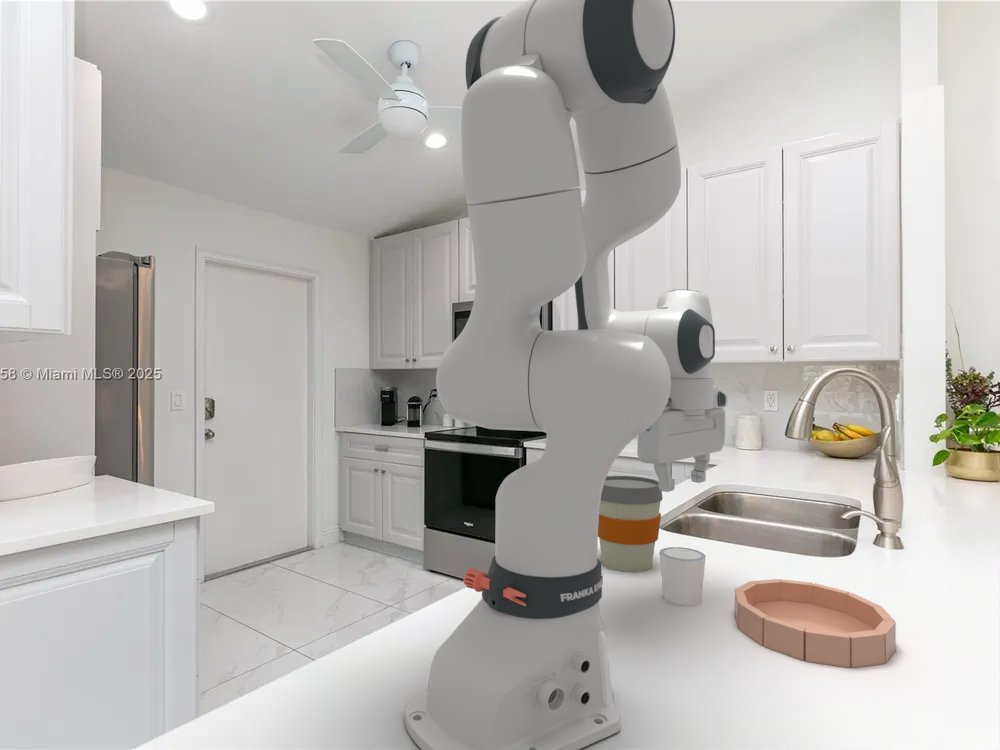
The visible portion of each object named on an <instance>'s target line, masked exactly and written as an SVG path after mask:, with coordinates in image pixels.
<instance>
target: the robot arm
mask: <svg viewBox="0 0 1000 750" xmlns="http://www.w3.org/2000/svg"><path fill="white" fill-rule="evenodd" d="M675 42H676V23H675V15H674V9H673V5H672V2H671V0H526V1H525V2H522V3H521V4H520V5H518V6H516V7H514V8H513V9H512V10H510V11H509V12H506V13H505V14H500V15H497V16H495V17H493V18H492V19H491V20H490V21H488V22H487V23H486V24H485V25H484V26H482V27H481V28H480V30H478V31H477V32H476V34H475V35H474V36H473V38H472V39H471V40H470V43H469V46H468V49H467V52H466V59H465V60H466V61H465V82H466V89H467V91H466V93H465V95H464V97H463V101H462V105H461V129H460V130H461V131H460V132H461V136H460V137H461V160H462V161H461V162H462V163H461V164H462V175H463V184H464V192H465V200H466V204H468V205H467V212H468V213H467V214H468V219H469V225H470V232H471V241H472V251H473V256H474V257H473V258H474V269H475V270H474V271H475V272H474V273H475V291H474V298H473V304H472V309H471V311H470V315H469V317H468V319H467V321H466V324H465V326H464V328H463V329H462V331H461V332H460V333H459V335H458V336H457V337H456V338H455V339H454V341H452V342H451V343H450V344H449V345H447V348H446V349H445V350H444V352H443V353H442V356H441V357H440V360H439V362H438V365H437V370H436V376H435V385H436V386H435V387H436V391H437V397H438V400H439V402H440V404H441V405H442V407H443V409H444V410H445V412H446V414H447V415H448V416H449V417H451V419H454V420H456V421H459V422H462V423H466V424H469V425H472V426H477V427H481V428H483V429H488V430H500V431H502V430H503V431H505V430H506V431H523V432H524V431H526V432H541V433H542V432H543V433H546V443H545V448H544V451H543V453H542V456H541V458H540V459H537V460H534V461H532V462H530V463H527V464H526V465H524V466H522V467H520V468H518V469H516V470H514V471H513V472H511V473H510V474H508V475H507V476H505V478H504V479H503V481H502V483H501V484H500V485H499V487H498V490H497V492H496V495H495V538H494V539H495V544H494V545H495V548H494V549H495V551H494V552H495V555H494V556H493V557H492V559H491V561H490V564H489V568H488V571H487V573H486V572H485V571H480V570H479V569H477V568H474V567H471V568H468V569H467V570H466V571H465V574H464V575H463V585H465V587H466V588H468V589H471V590H472V589H473V590H474V591H475V592H478V593H481V599H480V600H479V601H478V603H476V605H475V606H474V607H473V608H472V610H470V612H469V613H468V614H467V615H466V617H465V618H463V620H462V621H461V622H460V624H459V625H458V626H457V627H456V628H455V629H454V631H452V633H451V634H450V635H449V636H448V637H447V639H445V641H444V642H443V643H442V644H441V645H440V646H439V647H438V648H437V650H436V651H435V653H434V656H433V658H432V662H431V664H430V670H429V676H428V682H427V683H428V686H427V688H426V689H425V690H423V691H421V692H420V693H418V694H417V695H415V696H414V697H412V698H411V699H410V700H408V701H407V702H406V703H405V705H404V712H403V713H404V714H403V721H404V724H405V725H404V727H405V728H406V730H407V732H408V735H409V736H410V738H411V739H412V740H413V742H414V743H415V744H416V745H417V746H418V747H419V748H420V750H581V749H583V748H586V747H587V746H589V745H591V744H594V743H597V742H599V741H600V740H603V739H606V738H608V737H610V736H611V735H612V736H613V735H614V734H616V733H618V732H619V731H620V730H621V716H620V713H619V712H618V709H617V707H616V706H615V704H614V692H613V689H612V677H611V668H610V656H609V650H608V649H609V648H608V640H607V634H606V631H605V628H604V625H603V620H602V616H601V612H600V606H599V602H600V600H601V599H602V596H603V587H602V586H603V582H604V578H603V573H602V572H603V571H602V561H600V559H599V557H598V546H599V545H598V543H599V542H598V540H599V537H598V523H599V510H600V500H601V494H602V489H603V486H604V482H605V479H606V477H607V476H608V474H609V472H610V470H611V468H612V466H613V464H614V462H615V461H616V460H617V458H618V456H619V455H620V454H621V453H622V451H624V449H625V448H626V447H627V445H629V444H630V443H631V442H632V441H633V440H634V439H636V437H637V449H636V453H637V454H636V455H637V457H638V459H639V461H640V462H642V463H645V464H650V465H651V464H653V469H654V471H655V473H656V476H657V478H658V481H659V489H660V490H661V491H662V492H665V493H669V492H671V491H674V490H675V488H676V487H675V484H676V482H675V481H676V480H675V479H674V478H672V475H671V469H672V468H673V467H672V463H673V462H676V461H682V460H687V459H690V458H693V460H694V465H693V468H692V470H690V481H691V482H693V483H697V484H701V483H703V482H706V479H707V478H706V477H707V474H706V473H707V469H708V467H709V463H710V460H711V454H712V453H717V452H721V451H722V450H723V447H724V444H725V441H726V438H725V437H726V411H725V408H726V407H727V406H728V394H727V393H726V392H724V391H722V390H721V389H719V387H717V385H714V384H715V383H714V382H715V381H714V379H715V377H714V372H713V369H712V360H713V359H714V358H715V355H716V342H715V341H716V332H715V327H714V324H713V316H712V310H711V309H712V308H711V303H710V299H709V297H708V296H707V295H706V294H705V293H703V292H701V291H698V290H692V289H673V290H669V291H665V292H664V293H661V294H660V295H659V296H658V299H657V303H656V308H655V309H654V308H653V309H648V310H647V309H646V310H633V311H632V310H630V311H619V310H617V309H616V308H613V307H612V305H611V297H610V296H611V295H610V280H609V279H610V278H609V263H608V261H609V255H610V254H611V252H612V251H614V250H615V249H616V248H617V247H619V246H621V245H623V244H624V243H627V242H628V241H630V240H632V239H634V238H635V237H637V236H639V235H641V234H643V233H644V232H646V231H647V230H648V229H650V228H652V227H653V226H654V225H656V224H657V223H658V222H659V221H661V219H662V218H663V217H664V216H666V214H667V213H668V212H669V211H670V209H671V208H672V207H673V205H674V204H675V202H676V200H677V198H678V195H679V193H680V190H681V187H682V167H681V157H680V149H679V142H678V136H677V131H676V126H675V121H674V116H673V113H672V109H671V105H670V101H669V98H668V95H667V92H666V91H667V90H666V87H665V85H664V82H663V81H664V78H665V76H666V74H667V71H668V69H669V66H670V64H671V62H672V58H673V55H674V49H675V44H676V43H675ZM572 119H574V122H575V128H576V135H577V138H576V139H577V145H578V150H579V156H580V160H581V164H582V170H583V173H584V178H585V195H584V196H585V197H584V202H583V203H582V196H581V195H582V193H581V187H580V186H581V184H580V175H579V173H580V172H579V166H578V160H577V153H576V148H575V143H574V139H573V133H572V128H571V124H570V123H571V120H572ZM573 286H574V292H575V293H574V295H575V301H576V302H575V304H576V315H577V329H569V330H568V329H567V330H566V329H565V330H564V329H563V330H547V329H542V326H541V322H540V321H541V319H540V315H541V308H542V307H543V306H544V305H547V304H548V303H549V302H552V301H553V300H554V299H557V297H558V298H559V296H561V295H562V294H564V293H565V292H566V291H568V290H569V289H570V288H572V287H573Z"/></svg>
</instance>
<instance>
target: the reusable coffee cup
mask: <svg viewBox="0 0 1000 750" xmlns="http://www.w3.org/2000/svg"><path fill="white" fill-rule="evenodd" d="M661 501H663V491H661V490H660V489H659V480H657V479H654V478H649V477H643V476H634V475H607V477H606V479H605V482H604V486H603V489H602V494H601V500H600V510H599V523H598V540H599V548H600V554H601V555H600V556H601V564H603V566H605V567H607V568H609V569H612V570H614V571H618V572H619V571H620V572H624V573H625V572H628V573H640V572H645V571H648V570H650V569H652V567H653V561H654V553H655V544H656V542H657V541H658V540H659V533H660V526H661V525H660V524H661V519H662V513H661V512H660V509H661V508H660V507H661Z"/></svg>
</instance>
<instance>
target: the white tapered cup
mask: <svg viewBox="0 0 1000 750" xmlns="http://www.w3.org/2000/svg"><path fill="white" fill-rule="evenodd" d="M658 556H659V562H660V563H659V565H660V576H661V577H660V578H661V587H662V598H663V599H664V600H665V601H667V602H668V603H670V604H673V605H676V606H682V607H696V606H699V605H700V604H702V598H703V586H704V578H705V577H704V576H705V567H706V559H707V558H706V557H707V555H706V554H705V553H704V552H701V551H699V550H697V549H693V548H689V547H681V546H678V547H675V546H671V547H663V548H662V549H660V550H659V555H658Z"/></svg>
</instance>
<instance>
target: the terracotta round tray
mask: <svg viewBox="0 0 1000 750" xmlns="http://www.w3.org/2000/svg"><path fill="white" fill-rule="evenodd" d="M734 617H735V621H736V625H737V629H738V630H739V631H740V632H742V633H743V634H744V635H747V636H748V637H749V638H751V639H752V640H753V641H755V642H756V643H757V644H759V645H761V646H763V647H764V648H768V649H770V650H772V651H775V652H778V653H780V654H784V655H786V656H789V657H792V658H794V659H798V660H800V661H804V660H805V662H806V663H807V662H808V663H815V664H821V665H828V666H829V665H830V666H836V667H842V668H849V669H850V668H863V667H869V666H879V665H884V664H887V662H889V660H890V659H891V657H892V656H893V654H894V653H895V652H896V649H897V648H896V643H897V641H896V640H897V639H896V637H897V634H896V633H897V631H896V628H897V627H896V626H897V625H896V623H897V622H896V621H895V619H894V618H893V617H892V616H891V615H890V614H889V613H888V612H887V611H886V610H885V608H884V607H883V606H881V605H879V604H877V603H875V602H872V601H870V600H868V599H866V598H864V597H862V596H859V595H858V594H855V593H853V592H850V591H846V590H843V589H839V588H836V587H832V586H828V585H824V584H819V583H817V582H815V583H814V582H808V581H801V580H800V581H799V580H790V579H782V578H779V579H777V578H771V579H762V580H761V579H760V580H750V581H747V582H745V583H744V584H742V585H740V586H738V587H736V588H735V589H734Z"/></svg>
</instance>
